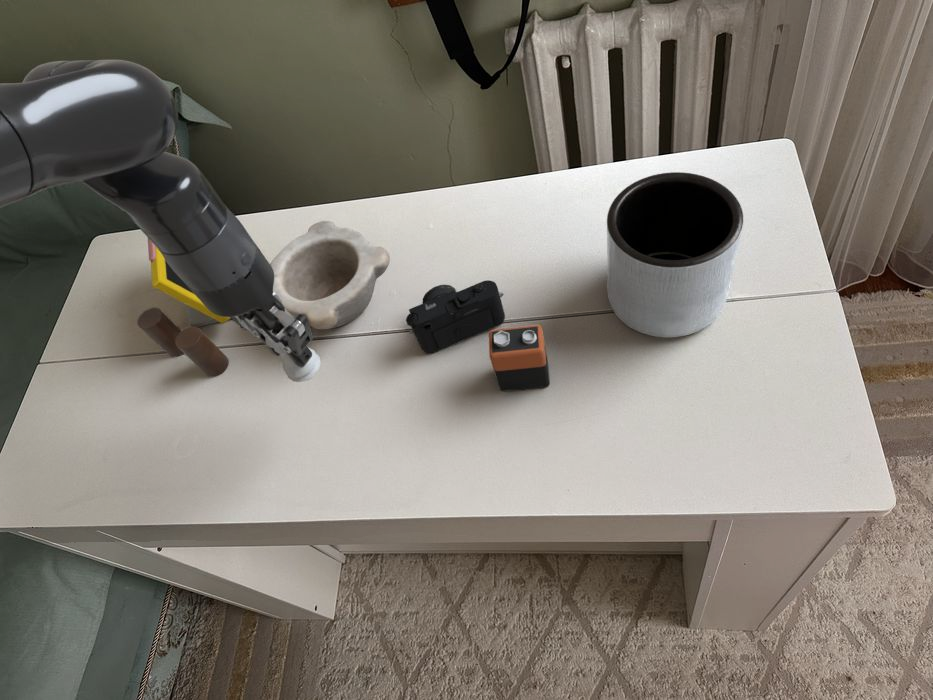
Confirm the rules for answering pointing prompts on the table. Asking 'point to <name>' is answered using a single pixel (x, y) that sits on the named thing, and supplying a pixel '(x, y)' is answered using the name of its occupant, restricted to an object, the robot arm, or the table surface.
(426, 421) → the table surface
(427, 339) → the camera
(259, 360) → the table surface
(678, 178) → the planter
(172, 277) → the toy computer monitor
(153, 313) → the far post
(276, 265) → the mortar
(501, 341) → the battery
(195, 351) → the near post
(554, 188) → the table surface
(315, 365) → the rook chess piece
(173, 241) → the robot arm
